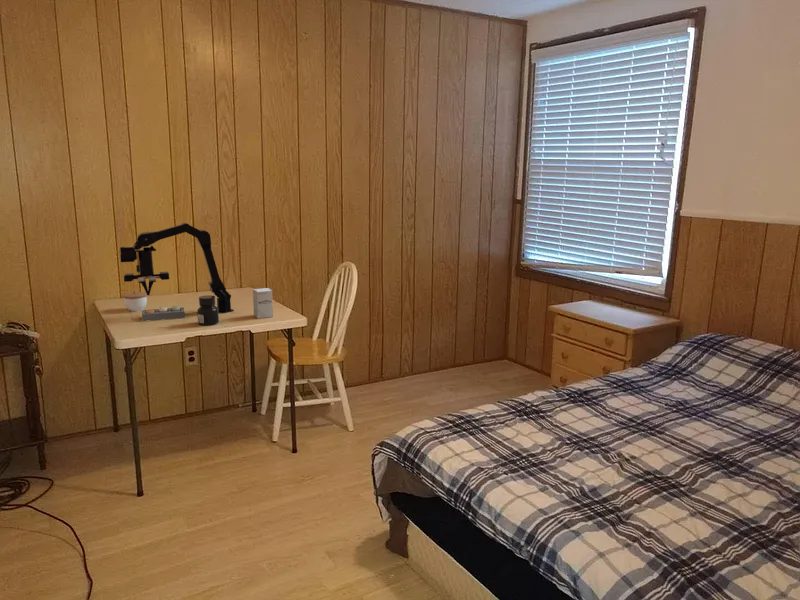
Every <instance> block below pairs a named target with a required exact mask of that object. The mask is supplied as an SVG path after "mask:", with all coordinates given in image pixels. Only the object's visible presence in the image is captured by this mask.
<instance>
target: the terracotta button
mask: <svg viewBox="0 0 800 600" xmlns="http://www.w3.org/2000/svg"><path fill="white" fill-rule="evenodd" d="M147 310H148V311H146V313H155V310H152V309H147Z"/></svg>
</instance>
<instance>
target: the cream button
mask: <svg viewBox="0 0 800 600" xmlns="http://www.w3.org/2000/svg"><path fill="white" fill-rule="evenodd" d="M167 308H168V307H167V306H161V307H158V309H159V312H168V310H167Z"/></svg>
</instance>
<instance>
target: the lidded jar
mask: <svg viewBox="0 0 800 600" xmlns="http://www.w3.org/2000/svg"><path fill="white" fill-rule="evenodd" d="M122 298H123V303H124V306H125V308H126V309H128V311H129V310H130V311H129V312H141V311H142V310H145V308H146V306H147V303H148V295H147V293H146V292H143V291H137V290H133V292H126V293H124V294H122ZM140 310H141V311H140Z"/></svg>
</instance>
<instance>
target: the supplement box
mask: <svg viewBox="0 0 800 600" xmlns="http://www.w3.org/2000/svg"><path fill="white" fill-rule="evenodd" d="M252 301H253V302H252V303H253V306H252V307H253V316H254V315H255V316H254V317H255V318H257V319H263V318H273V317H274V313H273V312H274V310H273V309H274V308H273V307H274V305H273V303H274V302H273V290H272V289H271V288H269V287H266V288H265V287H263V288H253V289H252ZM272 316H273V317H272Z"/></svg>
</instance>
